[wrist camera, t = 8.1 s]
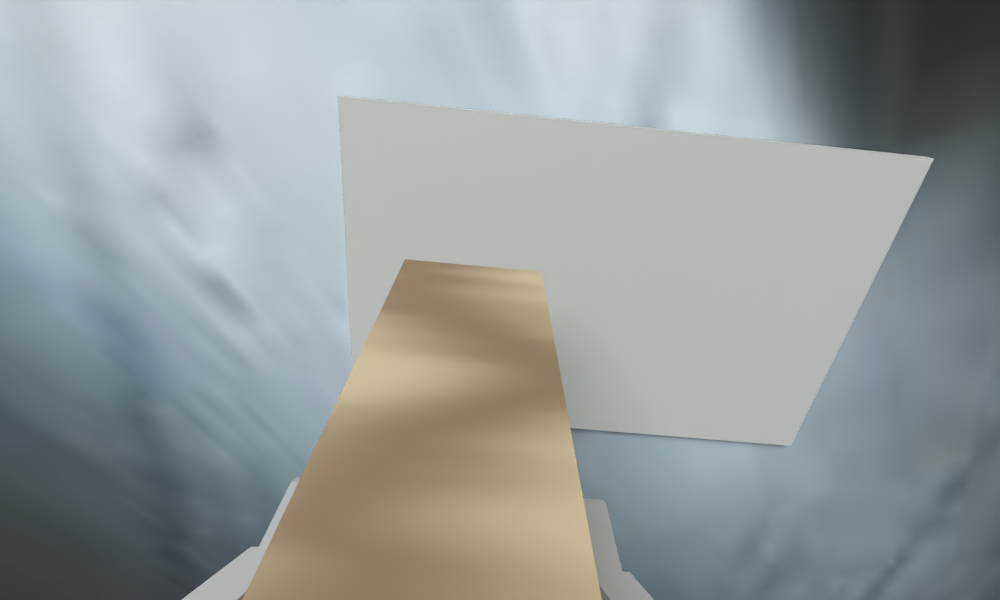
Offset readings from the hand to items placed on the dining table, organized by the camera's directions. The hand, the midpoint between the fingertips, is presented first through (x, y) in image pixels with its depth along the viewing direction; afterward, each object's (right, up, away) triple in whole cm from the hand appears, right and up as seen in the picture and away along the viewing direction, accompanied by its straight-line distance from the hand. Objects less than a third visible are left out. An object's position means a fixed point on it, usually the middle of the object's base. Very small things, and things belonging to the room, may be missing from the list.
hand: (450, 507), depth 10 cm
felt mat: (+5, +5, +9) cm, 11 cm away
